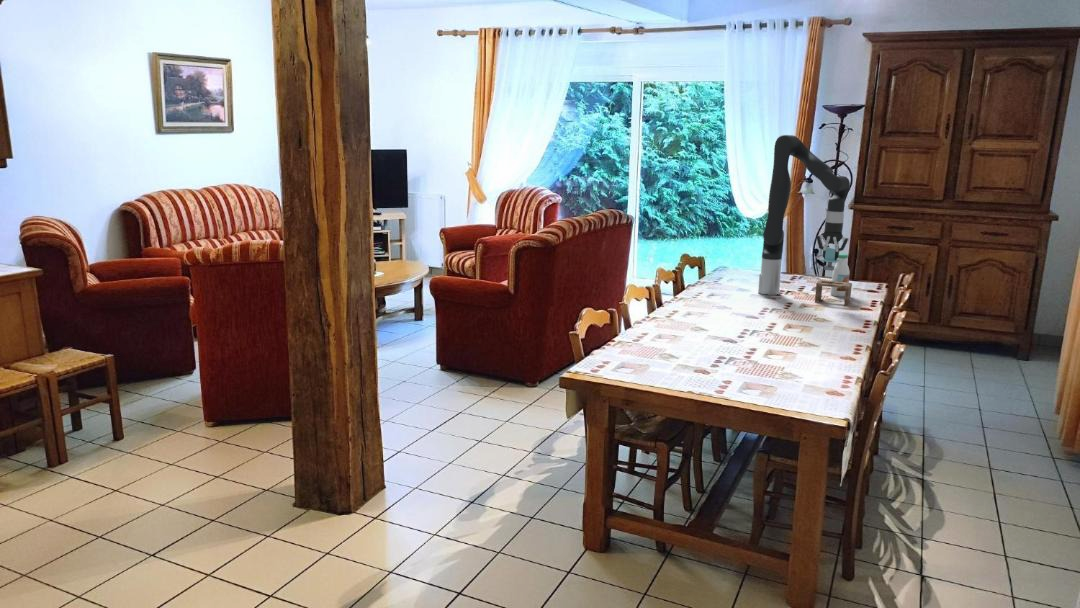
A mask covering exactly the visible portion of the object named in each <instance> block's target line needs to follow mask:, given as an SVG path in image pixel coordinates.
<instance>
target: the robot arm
mask: <svg viewBox="0 0 1080 608" xmlns="http://www.w3.org/2000/svg"><path fill="white" fill-rule="evenodd" d="M773 149H774V150H773V166H772V167H773V168H772V173H771V182H770V187H769V194H768V209H767V219H766V223H765V227H764V230H763V235H762V236H763V244H762V245H763V246H762V253H761V266H760V273H759V280H758V294H761V295H765V294H768V296H769V295H770V296H776V295H777V294H778V295H779V294H780V287H781V274H782V273H781V271H782V261H783V253H784V252H783V251H784V238H785V232H784V218H785V215H786V211H787V207H788V204H789V200H790V196H791V191H792V181H791V177H790V172H789V159H790V156H792V157H793V158H795V159H797V160H799V161H800V162H801V163H802V164H803V165H804V167H805V168H806V170H808V172H809V173H810V174H811V175H813V176H814V177H816V179H818V180H819V181H820V182H821V184H822V185H823V186H824V187H825V188H826V189H827V190H828V191H829V192H831V193H832V194H833V195H832V197H830V198H829V199H828V201H827V209H826V210H827V211H826V215H825V220H824V221H825V222H824V231H823V234H821V235H820V234H819V235H817V236H816V241H817V245H818V248H819V249H820V250H822V258H824V259H825V253H826V248H827V247H829V245H830V244H832V245H834V248H835V249H836V252H835V260H837V259H838V257H839V254H840V252H842V251H844V250H845V247H846V245H847V244H848V242H849V238H848V237H845V236H844V235H843V228H844V227H843V226H844V219H845V214H844V213H845V204H846V203H845V202H846V201H847V198H848V194H849V191H850V187H851V183H850V180H849V178H848V177H847V176H845V175H835V174H834V172H833V171H834V170H833V169H832V168H831V166H829V165H828V164H827V163H825V161H822V160H821V159H820V158H819V157H818V156H816V154H814V153H813V152H812V151H811V150H810V149H809V148H808V147H807V146H806V145H805V144H804V142H803V141H801V139H800V138H798V137H797V136H796V135H793V134H782V135H779V137H778V136H777V139H776V140H775V143H774V148H773ZM823 239H824V241H825V243H824V245H823ZM841 240H842V245H841V246H840V241H841ZM778 295H777V296H778Z"/></svg>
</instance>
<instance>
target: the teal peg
mask: <svg viewBox="0 0 1080 608" xmlns="http://www.w3.org/2000/svg"><path fill="white" fill-rule="evenodd" d="M835 252H836V249H835V247H829V246H828V247H827V248H826V253H825V259H824V257H822V258H821V259H820V262H826V263H827V265H824V266H823V270H824V271H831V272H833V270H834V268H835V265H833V263H835V264H836V263H837V262H838V261H839V259H837V260H835Z"/></svg>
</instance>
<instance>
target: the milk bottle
mask: <svg viewBox="0 0 1080 608" xmlns="http://www.w3.org/2000/svg"><path fill="white" fill-rule="evenodd" d="M848 256H849V255H848V254H846V253H839V257H838V259H839V261H838V262H837V263H835V265H834V266H835V268H834V270H833V271H832V274H831V275H832V276H831V281H836V282H846V283H850V268H849V265H848V258H849V257H848ZM845 291H846V288H838V287H830V295H831V296H834V297H839V298H841V297H843V298H845Z"/></svg>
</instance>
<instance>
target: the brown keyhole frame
mask: <svg viewBox="0 0 1080 608" xmlns="http://www.w3.org/2000/svg"><path fill="white" fill-rule="evenodd" d="M852 286H853V283H852V282H849V283H846V282H836V281H832V280H824V279H820V280H818V281H817V282H816V285H815V295H814V297H815V298H814V303H819V302H820V301H821V300H822V292H823V287H829V288H831V287H838V288H846V291H845V297H844V302H843V303H844V305H845V306H846V307H847V306H849V304H850V303H851V299H852V298H851V295H852V288H853V287H852ZM844 305H843V306H844Z"/></svg>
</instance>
